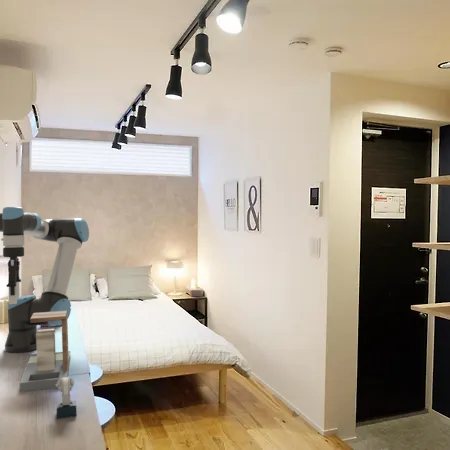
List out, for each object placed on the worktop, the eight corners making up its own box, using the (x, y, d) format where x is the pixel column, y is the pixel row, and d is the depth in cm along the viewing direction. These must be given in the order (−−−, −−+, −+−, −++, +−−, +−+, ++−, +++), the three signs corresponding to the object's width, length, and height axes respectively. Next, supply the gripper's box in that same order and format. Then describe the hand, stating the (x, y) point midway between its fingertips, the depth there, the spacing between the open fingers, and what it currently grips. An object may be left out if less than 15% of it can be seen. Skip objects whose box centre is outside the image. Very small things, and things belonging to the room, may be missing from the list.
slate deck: (31, 362, 192) (31, 354, 192) (70, 358, 196) (70, 350, 196) (20, 391, 160) (19, 382, 160) (66, 386, 164) (66, 377, 164)
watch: (75, 407, 146) (74, 372, 146) (76, 418, 139) (75, 381, 138) (56, 410, 144) (55, 374, 144) (56, 421, 137) (55, 383, 136)
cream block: (38, 367, 176) (37, 330, 176) (55, 365, 178) (54, 328, 177) (37, 371, 171) (36, 333, 171) (54, 369, 173) (53, 331, 172)
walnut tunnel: (35, 365, 178) (33, 312, 177) (68, 362, 181) (67, 310, 181) (32, 374, 168) (30, 318, 168) (67, 370, 172) (65, 316, 171)
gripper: (6, 245, 194) (7, 297, 194) (-1, 248, 170) (0, 307, 170) (25, 245, 196) (26, 296, 196) (21, 247, 173) (22, 305, 173)
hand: (14, 301), depth 183 cm, fingers open, 13 cm apart
